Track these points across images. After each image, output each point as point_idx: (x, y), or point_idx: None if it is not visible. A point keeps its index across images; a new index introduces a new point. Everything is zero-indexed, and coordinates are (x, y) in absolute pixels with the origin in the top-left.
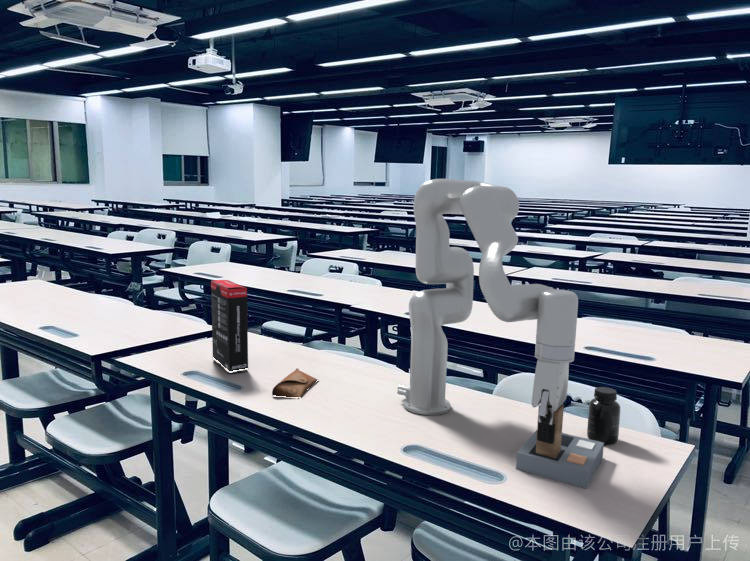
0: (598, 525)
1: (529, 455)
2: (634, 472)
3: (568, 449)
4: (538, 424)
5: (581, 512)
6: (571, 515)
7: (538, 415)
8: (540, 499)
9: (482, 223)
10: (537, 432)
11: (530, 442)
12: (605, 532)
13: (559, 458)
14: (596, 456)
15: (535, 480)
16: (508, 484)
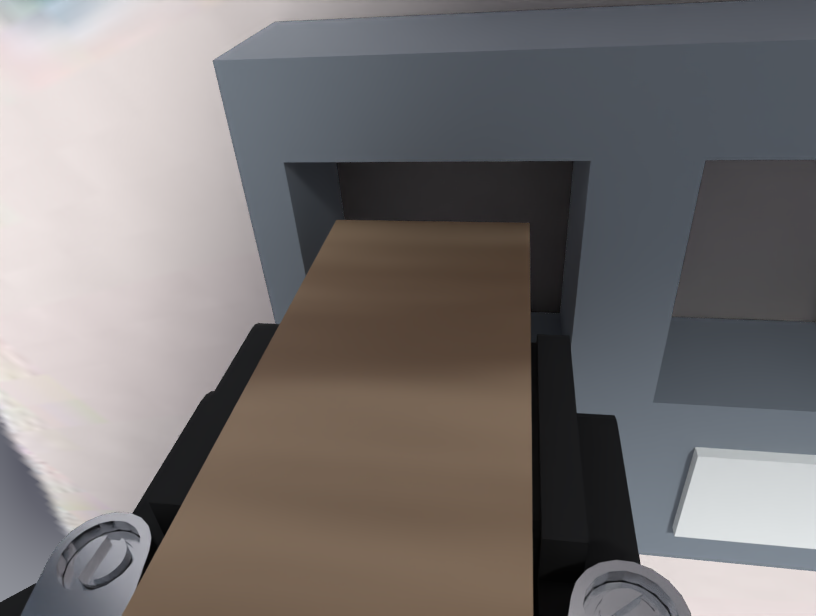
0: (96, 488)
1: (254, 185)
2: (692, 583)
3: (601, 412)
4: (168, 468)
5: (124, 439)
6: (65, 413)
7: (147, 573)
8: (54, 285)
9: None
10: (266, 357)
11: (572, 96)
12: (76, 505)
13: (564, 312)
14: None
15: (223, 207)
16: (18, 69)
